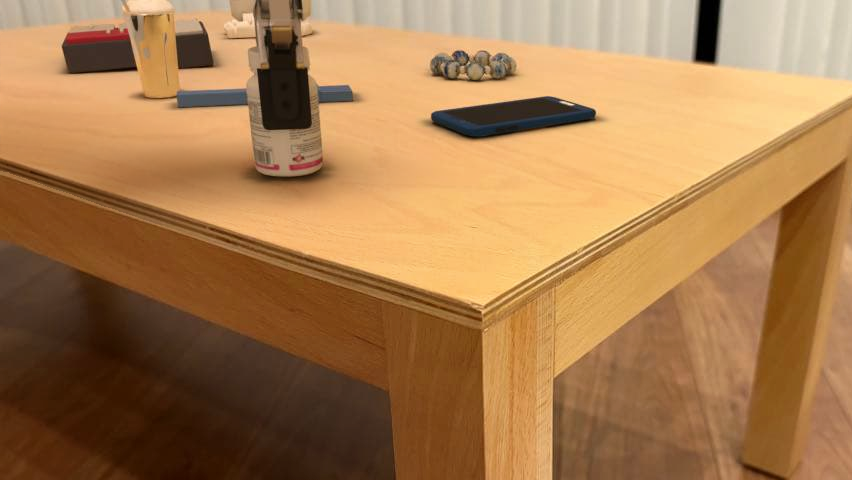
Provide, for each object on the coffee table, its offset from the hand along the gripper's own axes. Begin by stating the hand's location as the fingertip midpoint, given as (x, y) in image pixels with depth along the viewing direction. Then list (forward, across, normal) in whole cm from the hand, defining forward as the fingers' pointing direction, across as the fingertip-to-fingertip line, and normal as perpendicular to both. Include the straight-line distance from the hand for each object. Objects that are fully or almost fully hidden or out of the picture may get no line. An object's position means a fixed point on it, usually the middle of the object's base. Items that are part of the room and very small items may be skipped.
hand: (284, 116), depth 60 cm
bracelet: (+4, -34, +22) cm, 41 cm away
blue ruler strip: (+4, -24, 0) cm, 25 cm away
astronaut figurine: (+5, -69, +2) cm, 69 cm away
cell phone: (+4, -11, +20) cm, 24 cm away
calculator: (+5, -49, -14) cm, 51 cm away
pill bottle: (+4, 0, 0) cm, 4 cm away
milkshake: (+5, -29, -10) cm, 31 cm away
